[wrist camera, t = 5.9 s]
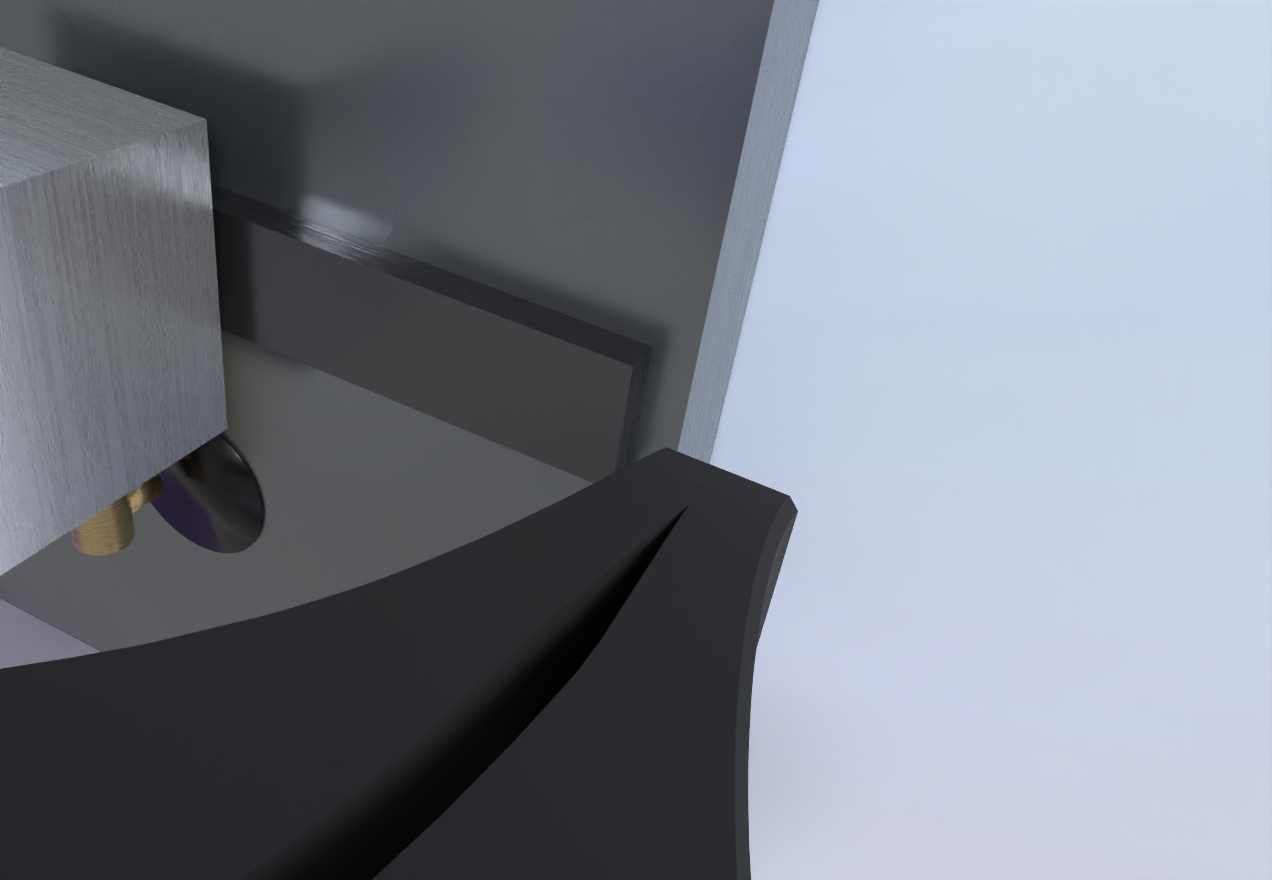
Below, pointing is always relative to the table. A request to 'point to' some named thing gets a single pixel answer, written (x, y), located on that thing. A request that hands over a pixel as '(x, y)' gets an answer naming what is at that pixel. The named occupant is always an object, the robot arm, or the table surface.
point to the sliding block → (99, 306)
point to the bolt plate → (430, 272)
